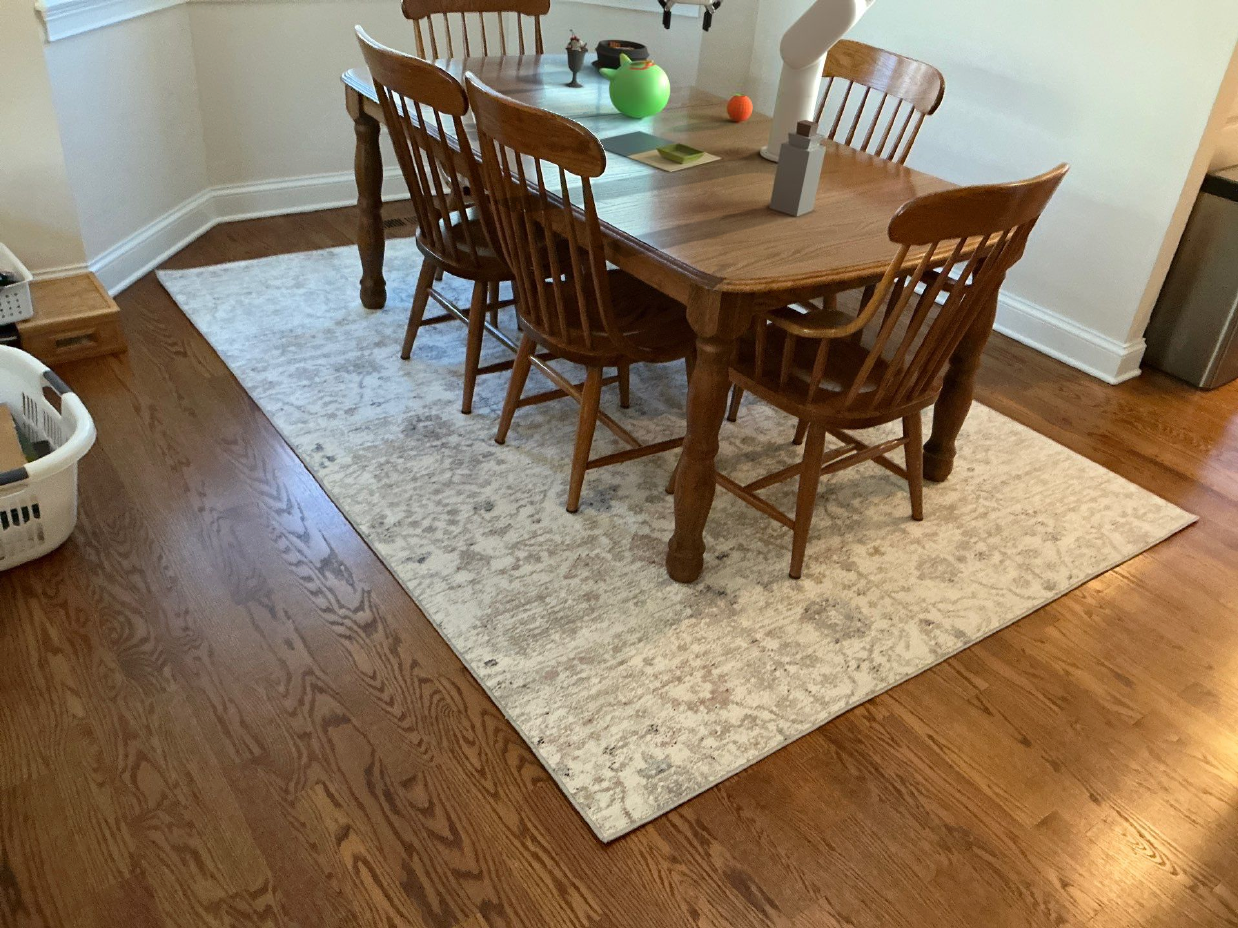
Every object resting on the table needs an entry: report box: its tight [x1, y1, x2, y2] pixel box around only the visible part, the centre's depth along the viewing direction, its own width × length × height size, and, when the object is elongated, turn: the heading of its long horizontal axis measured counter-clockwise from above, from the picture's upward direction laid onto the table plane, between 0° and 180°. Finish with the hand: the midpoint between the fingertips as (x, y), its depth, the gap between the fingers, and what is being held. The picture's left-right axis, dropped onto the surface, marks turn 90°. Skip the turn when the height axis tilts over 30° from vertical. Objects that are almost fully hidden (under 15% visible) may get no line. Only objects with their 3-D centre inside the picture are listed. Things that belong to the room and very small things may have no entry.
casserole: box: [590, 39, 650, 71], centre depth 304 cm, size 25×19×8 cm
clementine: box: [724, 93, 753, 123], centre depth 267 cm, size 8×7×7 cm
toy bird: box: [598, 54, 671, 119], centre depth 259 cm, size 18×17×15 cm
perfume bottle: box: [768, 120, 827, 217], centre depth 204 cm, size 7×7×18 cm
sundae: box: [564, 29, 589, 89], centre depth 282 cm, size 7×7×15 cm
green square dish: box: [656, 142, 707, 164], centre depth 232 cm, size 9×9×2 cm
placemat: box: [598, 130, 722, 173], centre depth 236 cm, size 26×20×1 cm
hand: (686, 29), depth 236 cm, fingers open, 9 cm apart
